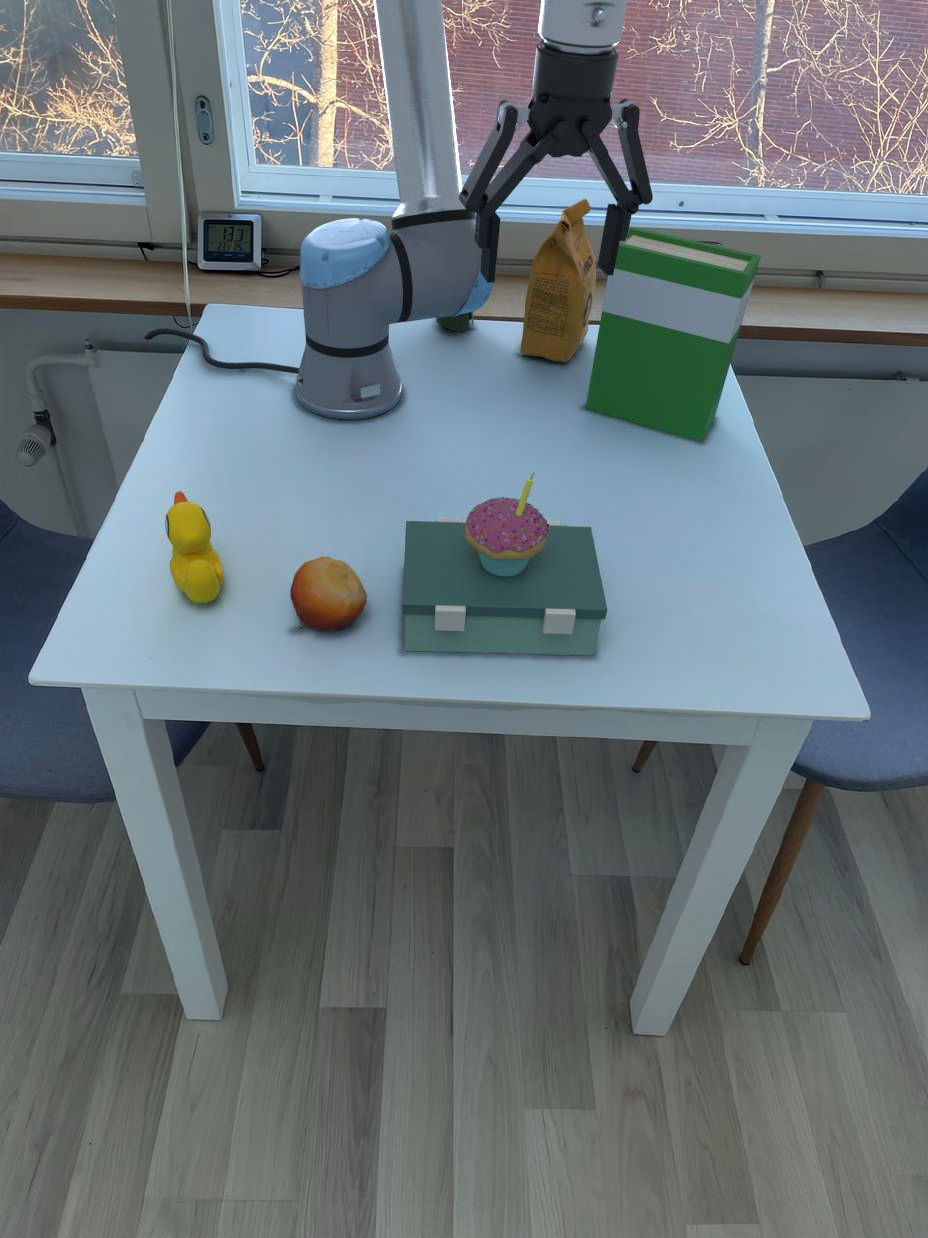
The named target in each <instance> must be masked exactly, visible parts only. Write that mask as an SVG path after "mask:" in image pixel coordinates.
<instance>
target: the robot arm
mask: <svg viewBox="0 0 928 1238" xmlns="http://www.w3.org/2000/svg"><path fill="white" fill-rule="evenodd" d="M540 3H541V4H540V9H539V11H540V12H539V20H538V28H537V33H538V34H539V36H540V37H541V38H542V39H543V40H541V41H540V42H538V44H537V45H536V49H535V59H534V69H533V76H532V89H531V90H532V91H531V97H530V100H529V102H528V104H527V105H520V104H513V103H510V101H509V100H508V99H502V100H500V101H499V102H498V104H497V109H496V114H495V120H494V125H493V127H492V129H491V131H490V133H489V135H488V137H487V139H486V141H485V142H484V145H483V147H482V149H481V151H480V152H479V155H478V157H477V159H476V160H475V162H474V165H473V167H472V168H471V170H470V172H469V174H468V176H467V178H466V180H465V182H464V184H463V185H462V176H461V168H460V167H461V166H460V159H459V158H460V157H459V149H458V140H457V131H456V121H455V112H454V103H453V94H452V85H451V84H452V83H451V77H450V74H451V73H450V67H449V58H448V57H449V56H448V50H447V49H448V48H447V39H446V30H445V20H444V12H443V1H442V0H373V6H374V13H375V14H374V15H375V22H376V30H377V38H378V46H379V52H380V60H381V67H382V76H383V83H384V91H385V99H386V106H387V115H388V121H389V129H390V137H391V145H392V151H393V153H392V154H393V159H394V168H395V174H396V180H397V181H396V183H397V189H398V198H399V204H398V207H397V208H396V209H395V211H394V213H393V214H392V215H391V217H390V221H391V229H392V230H391V231H390V232H389V230H388V229H387V227H386V226H385V224H383V223H382V222H379V221H377V220H373V219H369V218H363V219H359V218H357V217H356V218H352V217H351V218H344V219H342V218H341V219H338V220H334V221H330V222H327V223H324V224H321V225H319V226H318V227H316V228H314V229H313V230H311V231H310V233H309V234H307V235H306V236H305V238H304V239H303V241H302V243H301V246H300V257H299V258H300V259H299V260H300V261H299V262H300V263H299V264H300V266H299V280H300V283H301V294H302V308H303V322H304V334H305V335H304V336H305V346H304V350H303V354H302V357H301V361H300V364H299V367H297V366H290V365H283V364H278V363H272V362H271V363H270V362H262V361H261V362H259V361H250V362H249V361H247V362H228V361H227V362H226V361H221V360H217V359H214V358H212V357H211V355H210V351H209V346H208V345H209V344H208V343H207V342H206V340H205V339H204V338H203V337H201V336H199V335H197V334H195V333H191V332H188V331H184V330H182V329H179V328H178V329H177V328H170V327H161V328H156V329H153V330H152V329H151V331H149V332H148V333H146V334H145V336H144V340H147V341H150V340H152V339H154V338H155V337H157V336H161V335H171V336H177V337H181V338H184V339H188V340H190V341H193V342H195V343H197V344H199V345H200V346H201V353H202V357H203V359H204V361H205V362H206V363H207V364H209V365H210V366H213V367H216V368H220V369H225V370H226V369H227V370H247V369H248V370H250V369H257V370H259V369H260V370H270V371H276V372H283V373H289V374H296V383H295V388H296V390H295V391H296V397H297V399H298V402H299V403H300V404H301V405H302V407H304V408H305V409H307V410H309V411H310V412H311V413H313V414H316V415H318V416H322V417H325V418H329V419H336V420H343V421H345V420H346V421H347V420H349V421H351V420H352V421H353V420H364V419H365V420H366V419H370V418H374V417H378V416H380V415H382V414H385V413H387V412H389V411H391V410H392V409H394V407H396V406H397V405H398V403H400V401H401V398H402V379H401V376H400V374H399V372H398V371H399V370H398V367H397V365H396V362H395V359H394V355H393V353H392V350H391V346H390V338H389V337H390V325H392V324H393V325H394V324H398V323H399V324H400V323H408V322H415V321H416V322H417V321H423V320H430V319H431V320H432V319H436V318H438V317H446V316H451V317H453V316H458V315H459V314H463V313H468V312H473V313H474V312H476V311H478V310H480V309H481V308H483V306H484V305H485V304H486V303H487V302H488V300H489V298H490V296H491V293H492V292H493V289H494V285H495V281H496V275H497V264H498V263H497V261H498V260H497V259H498V251H499V240H500V227H501V217H500V216H499V215H498V214H497V213H496V212H497V211H498V209H499V208H500V207H501V206H502V205H503V204H504V202H505V201H506V200H507V199H508V198H509V197H510V195H511V194H512V192H514V191H515V189H516V188H517V187H518V185H520V184H521V182H522V181H523V180H524V178H525V177H526V176H527V175H528V174H529V173H530V171H531V170H532V169H533V168H534V167H535V165H536V164H540V163H541V162H542V161H543V159H545V157H546V156H547V155H548V156H550V157H551V158H562V157H565V156H571V157H574V158H582V157H583V155H585V154H586V153H588V155H589V156H590V158H591V161H592V162H593V163H594V165H595V167H596V169H597V170H598V172H599V174H600V176H601V177H602V179H603V180H604V182H605V184H606V186H607V188H608V189H609V191H610V193H611V195H612V197H613V198H614V200H615V201H616V203H607V208H606V213H605V219H604V225H603V231H602V235H601V236H602V237H601V241H600V247H599V252H598V259H597V264H596V265H597V267H598V268H599V269H600V270H601V271H602V272H603V273H604V274H605V275H606V276H607V277H608V275H613V274H614V269H615V263H616V258H617V253H618V247H619V243H621V242H626V241H627V238H628V232H629V228H630V227H631V226H630V224H631V220H632V215H635V214H637V213H638V211H639V210H640V206H641V205H646V206H647V205H650V204H651V203H652V201H653V199H654V195H653V191H652V186H651V181H650V177H649V174H648V173H649V172H648V169H647V164H646V160H645V155H644V151H643V146H642V142H641V138H640V134H639V123H640V113H641V109H640V107H639V106H637V105H636V104H635V103H633V102H632V101H630V99H628V98H622V99H621V100H620V101H619V102H618V103H616V104H611V97H612V93H613V91H614V85H615V79H616V72H617V66H618V61H619V53H618V51H617V49H616V48H615V47H614V46H616V45H617V44H619V43H620V42H621V40H622V35H623V29H624V21H625V17H626V10H627V6H628V5H627V4H628V0H541V2H540ZM611 121H612V124H613V126H614V127H615V128H616V129H617V134H618V139H619V144H620V148H621V151H622V156H623V159H624V163H625V168H626V171H627V176H628V179H629V184H630V188H631V189H629V188H628V186H627V184H626V182H625V181H624V178H623V177H622V175H621V173H620V172H619V170H618V168H617V167H616V165H615V162H614V161H613V159H612V157H611V156H610V154H609V150H608V148H607V146H606V145H605V143H604V141H603V139H602V137H601V135H602V133H603V132H604V131H605V129H606V128H607V127H608V126H609V125H610V122H611ZM525 122H526V123H527V125H528V127H529V131H528V132H527V134H526V135H525V136H524V138H523V139H522V140H521V141H520V143H519V147H518V148H517V150H516V151H514V153H513V154H512V155H511V157H510V158H509V160H508V161H506V163H505V164H504V166H503V167H501V169H500V170H499V171H498V173H496V172H497V170H498V169H499V166H500V164H501V162H502V160H503V158H504V157H505V155H506V153H507V151H508V150H509V147H510V145H511V143H512V140H513V138H514V135H515V132H517V131H519V130H520V129H521V127H522V125H523V124H524V123H525ZM495 174H496V175H495ZM494 175H495V176H494Z"/></svg>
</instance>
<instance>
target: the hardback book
mask: <svg viewBox="0 0 928 1238" xmlns="http://www.w3.org/2000/svg"><path fill="white" fill-rule="evenodd" d="M761 258H762V255H759V254H756V253H750V252H746V251H743V250H742V251H741V250H737V249H734V248H728V247H724V246H719V245H715V244H711V243H707V242H702V241H697V240H693V239H688V238H684V237H681V236H680V237H679V236H676V235H671V234H666V233H661V232H657V231H652V230H650V229H649V230H648V229H643V228H639V227H635V226H629V230H628V236H627V238H626V240H625V241H624V243H623V242H619V247H618V253H617V258H616V263H615V269H614V274H613V275H608V276H607V280H606V286H605V290H604V291H605V292H604V298H603V304H602V310H601V314H600V315H601V316H600V321H599V326H598V332H597V338H596V344H595V351H594V356H593V362H592V368H591V373H590V380H589V386H588V392H587V397H586V403H585V409H586V410H590V411H592V412H596V413H600V414H602V415H606V416H609V417H613V418H617V419H620V420H624V421H627V422H631V423H634V424H637V425H640V426H643V427H648V428H651V429H655V430H658V431H662V432H665V433H668V434H671V435H675V436H679V437H681V438H686V439H688V440H692V441H696V442H699V443H702V442H703V440H704V439H705V437H706V435H707V433H708V431H709V429H710V428H711V426H712V424H713V422H714V421H715V418H716V414H717V412H718V408H719V405H720V400H721V398H722V394H723V390H724V387H725V385H726V384H725V383H726V379H727V376H728V373H729V370H730V366H731V362H732V359H733V355H734V352H735V348H736V345H737V341H738V337H739V335H740V330H741V327H742V324H743V321H744V317H745V314H746V310H747V307H748V302H749V299H750V295H751V292H752V289H753V285H754V282H755V278H756V275H757V272H758V268H759V264H760V260H761Z"/></svg>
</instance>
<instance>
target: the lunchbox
mask: <svg viewBox="0 0 928 1238" xmlns="http://www.w3.org/2000/svg"><path fill="white" fill-rule="evenodd" d="M465 524H466V522H464V518H463V517H442V516H441V517H440V516H438V517H437V516H436V517H435V521H428V520H406V521H405V536H404V537H405V538H404V559H403V579H402V580H403V581H402V582H403V583H402V603H401V605H402V606H401V609H402V610H401V613H402V615H404V651H405V652H433V653H434V652H437V653H441V652H442V653H474V654H515V655H550V656H551V655H553V656H587V657H588V656H591V657H592V656H593V657H594V654H595V649H596V646H597V641H598V637H599V632H600V628H601V623H602V621H603V620H606V618H607V613H608V605H607V600H606V596H605V591H604V586H603V581H602V576H601V575H602V574H601V570H600V566H599V560H598V556H597V551H596V546H595V540H594V536H593V530H592V527H591V526H580V525H579V526H578V525H577V526H576V525H562V521H558V520H547V524H549V527H550V530H549V534H548V535H547V540H546V543H545V546H544V548H543V550H542V551H540V552H539V553H537V554H536V555H535V556H533V557H531V558H530V560H529V561H528V563H527V565H526V567H525V569H524V570H523V571H522V572H521V573H519V574H517V575H514V576H509V577H502V576H497V575H494V574H491V573H490V572H488V571H487V570H486V569H485V568H484V567H483V566H482V564H481V560H480V556H479V553H478V551H476V550H475V549H473V548H472V547H471V546H470V545H469V544H468V542H467V541H466V538H465Z"/></svg>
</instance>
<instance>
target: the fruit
mask: <svg viewBox="0 0 928 1238" xmlns="http://www.w3.org/2000/svg"><path fill="white" fill-rule="evenodd" d="M367 596H368V595H367V592H366V590H365V587H364V585H363V582H362V581H361V579H360V578H359V576H358V574H357V573H356V571H355V570H354V569H353V568H352V567H351V565H349V564H347V562H345V561H342V560H340V559H335V558H332V557H331V556H320V557H318V558H313V559H311V560H308V561H305V562H304V563H302V564H301V566H299V568H297V570H296V572H295V573H294V576H293V579H292V583H291V586H290V590H289V597H290V601H291V602H292V605H293V608H294V611H295V615H296V616H297V617H298V621H299V625H297V627H296V628H295V629H296V631H299V630H300V629H301V628H302V627H303V626H306V627H308V628H311V629H314V630H318V631H322V632H323V631H325V632H326V631H327V632H328V631H341V630H345V629H346V628H348V627H349V626H351V625H352V624H353V623H354V622H355V621H356V620H357V619H358V618H359V617H360V615H361V614H362V612H363V610H364V608H365V606H366V604H367V601H368V600H367V599H368V598H367Z"/></svg>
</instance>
